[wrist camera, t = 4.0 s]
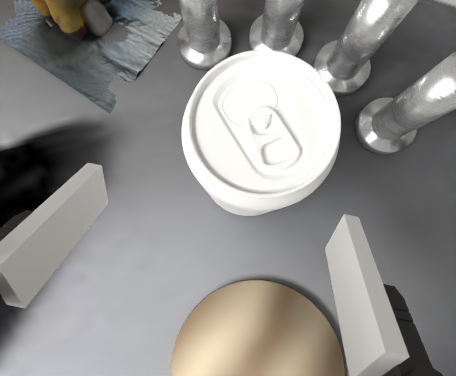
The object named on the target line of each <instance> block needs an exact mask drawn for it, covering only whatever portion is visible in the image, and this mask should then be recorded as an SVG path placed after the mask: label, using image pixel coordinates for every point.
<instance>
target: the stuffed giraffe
mask: <svg viewBox="0 0 456 376" xmlns="http://www.w3.org/2000/svg"><path fill="white" fill-rule="evenodd" d="M31 1H32V2H27V1H25V0H24V2H22V1H21V0H19V1H18V3H17V2H16V1H15V2H14V6H15V13H16V18H14V20H13V19H10V21H9V22H10V24H8V23H7V21H6V23H5V24H4V25H5V26H4V27H3V26H1V27H0V39H1V40H2V41H4V42H5V43H7V44H9V45H10V46H11V47H13V48H15V49H16V50H18V51H19V52H21V53H22V54H24V55H25V56H27V57H28V58H30V59H31V60H33V61H34V62H36V63H37V64H38V65H40V66H41V67H43V68H44V69H46V70H47V71H49V72H50V73H52V74H53V75H55V76H56V77H58V78H59V79H61V80H62V81H64V82H65V83H67V84H68V85H69V86H71V87H72V88H74V89H75V90H77V91H78V92H80V93H81V94H83V95H84V96H85V97H87V98H88V99H90V100H91V101H93V102H94V103H96V104H97V105H99V106H100V107H102V108H103V109H104V110H106V111H107V112H109V113H110V112H111V111H112V110H113V109H114V106H115V103H116V100H115V95H114V94H113V93H111V92H110V91H109V89H108V86H109V85H110V82H111V80H113V76H111V77H109V75H112V73H114V74H115V75H118V76H120V77H121V78H123V79H124V80H125V81H128V82H132V81H133V80H136V77H137V73H138V72H139V71H141V70H142V69H143V68H144V66H145V65H146V64H147V63H148V62H149V61H150V60H151V58H152V57H153V55H154V54H155V53H156V51H157V50H158V49H159V47H160V45H161V43H162V42H164V41H165V40H166V39H163V38H162V37H163V36H165V37H166V38H168V34H169V32H170V34H171V32H172V31H173V30H174V29H175V27H176V26H177V25H178V23H179V22H180V20H181V19H182V18H181V16H180V15H176V13H174V14H173V15H174V18H173V17H171V16H168V15H167V14H166V15H164V14H163V13H162V12H161V11H159V12H158V11H157V10H152V9H155V8H156V7H159V5H162V3H161V2H160V1H159V0H157V1H155V2H156V3H157V4H159V5H158V6H156V7H155V6H153V5H152V4H154V2H151V1H149V0H31ZM145 1H149V2H145ZM33 4H34V5H33ZM35 10H38V11H39V12H33V11H35ZM18 11H19V13H18ZM37 13H41V14H40V15H36V14H37ZM43 17H44V18H43ZM45 19H46V20H47V21H49V22H50V23H51V24H52V27H50V26H49V25H48V24H47V23H46V20H45ZM114 22H117V23H119V24H118V25H123V23H126V24H129V26H126V27H125V28H126V29H127V32H128V33H129V35H128V36H127V39H126V40H125V41H123V42H115V41H111V42H110V43H106V42H105V41H103V39H102V38H101V37H102V36H103V35H104V34H105V33H106V32H107V31H108V30H109V29H110V28H111V26H112V25H113V23H114ZM170 34H169V35H170ZM127 40H128V41H127ZM150 52H151V53H150ZM105 86H107V87H105ZM106 91H107V94H108V95H106V94H105V93H106Z"/></svg>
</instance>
